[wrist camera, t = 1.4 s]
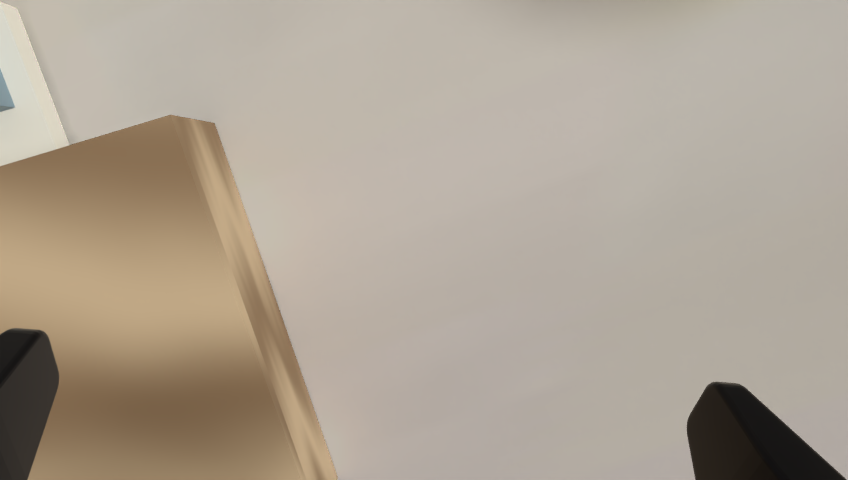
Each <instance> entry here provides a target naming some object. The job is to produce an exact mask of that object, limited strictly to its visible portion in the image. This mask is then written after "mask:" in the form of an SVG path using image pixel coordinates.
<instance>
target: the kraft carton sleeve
mask: <svg viewBox="0 0 848 480" xmlns="http://www.w3.org/2000/svg"><path fill="white" fill-rule="evenodd" d="M12 328H23V329H36V330H42V331H44V332H45V333H46V334H47V335H48V337H49V340H50V343H51V346H52V350H53V353H54V357H55V360H56V363H57V367H58V371H59V385H58V389H57V393H56V396H55V399H54V402H53V405H52V408H51V411H50V414H49V417H48V420H47V423H46V426H45V429H44V432H43V435H42V438H41V441H40V444H39V447H38V450H37V453H36V456H35V459H34V462H33V465H32V468H31V471H30V474H29V477H28V480H337V474H336V471H335V468H334V465H333V463H332V460H331V457H330V454H329V451H328V448H327V445H326V442H325V440H324V437H323V434H322V431H321V428H320V425H319V422H318V419H317V417H316V414H315V411H314V408H313V405H312V402H311V399H310V396H309V394H308V391H307V388H306V385H305V382H304V379H303V376H302V373H301V371H300V368H299V365H298V362H297V359H296V356H295V353H294V350H293V348H292V345H291V342H290V339H289V336H288V333H287V330H286V327H285V325H284V322H283V319H282V316H281V313H280V310H279V307H278V304H277V302H276V299H275V296H274V293H273V290H272V287H271V284H270V281H269V279H268V276H267V273H266V270H265V267H264V264H263V261H262V258H261V256H260V253H259V250H258V247H257V244H256V241H255V238H254V235H253V233H252V230H251V227H250V224H249V221H248V218H247V215H246V212H245V210H244V207H243V204H242V201H241V198H240V195H239V192H238V189H237V187H236V184H235V181H234V178H233V175H232V172H231V169H230V167H229V164H228V161H227V158H226V155H225V152H224V149H223V146H222V144H221V141H220V138H219V135H218V132H217V129H216V126H215V123H211V122H205V121H200V120H195V119H190V118H185V117H179V116H174V115H168V116H165V117H162V118H158V119H155V120H152V121H148V122H145V123H142V124H138V125H135V126H132V127H129V128H125V129H122V130H119V131H115V132H112V133H109V134H105V135H102V136H99V137H95V138H92V139H89V140H85V141H82V142H79V143H76V144H72V145H69V146H66V147H62V148H59V149H56V150H52V151H49V152H46V153H42V154H39V155H36V156H32V157H29V158H26V159H23V160H19V161H16V162H13V163H9V164H6V165H3V166H0V334H1V333H3V332H4V331H6V330H9V329H12Z"/></svg>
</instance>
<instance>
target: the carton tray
mask: <svg viewBox="0 0 848 480" xmlns="http://www.w3.org/2000/svg"><path fill="white" fill-rule="evenodd" d="M66 146H69V142H68V140H67V137H66V135H65V132H64V129H63V127H62V124H61V122H60V119H59V116H58V114H57V111H56V108H55V106H54V103H53V101H52V98H51V95H50V93H49V90H48V88H47V85H46V82H45V80H44V77H43V75H42V72H41V69H40V67H39V64H38V61H37V59H36V56H35V54H34V51H33V48H32V46H31V43H30V41H29V38H28V35H27V33H26V30H25V28H24V25H23V22H22V20H21V17H20V14H19V12H18V9H17V8H15V7H12V6H10V5H7V4H5V3H3V2H0V166H3V165H6V164H9V163H13V162H16V161H19V160H23V159H26V158H29V157H32V156H36V155H39V154H42V153H46V152H49V151H52V150H56V149H59V148H62V147H66Z"/></svg>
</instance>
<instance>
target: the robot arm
mask: <svg viewBox="0 0 848 480" xmlns="http://www.w3.org/2000/svg"><path fill="white" fill-rule="evenodd" d="M58 385H59V371H58V367H57V363H56V360H55V357H54V353H53V350H52V346H51V343H50V340H49V337H48V335H47V334H46V333H45V332H44V331H42V330H36V329H23V328H12V329H9V330H6V331H4V332H3V333H1V334H0V480H28V477H29V474H30V471H31V468H32V465H33V462H34V459H35V456H36V453H37V450H38V447H39V444H40V441H41V438H42V435H43V432H44V429H45V426H46V423H47V420H48V417H49V414H50V411H51V408H52V405H53V402H54V399H55V396H56V393H57V389H58ZM687 436H688V441H689V447H690V452H691V457H692V463H693V468H694V474H695V479H696V480H846V479H845V478H844V477H843V476H842V475H841V474H840V473H839V472H838V471H836V470H835V469H834V468H833V467H832V466H831V465H830V464H829V463H828V462H827V461H825V460H824V459H823V458H822V457H821V456H820V455H819V454H818V453H817V452H816V451H814V450H813V449H812V448H811V447H810V446H809V445H808V444H807V443H806V442H805V441H803V440H802V439H801V438H800V437H799V436H798V435H797V434H796V433H795V432H794V431H792V430H791V429H790V428H789V427H788V426H787V425H786V424H785V423H784V422H783V421H781V420H780V419H779V418H778V417H777V416H776V415H775V414H774V413H773V412H772V411H770V410H769V409H768V408H767V407H766V406H765V405H764V404H763V403H762V402H761V401H759V400H758V399H757V398H756V397H755V396H754V395H753V394H752V393H751V392H750V391H748V390H747V389H746V388H745V387H744V386H742V385H740V384H736V383H726V382H712V383H711V384H709V385H708V386H707V387H706V388H705V390H704V392H703V393H702V395H701V397H700V399H699V400H698V402H697V404H696V405H695V407H694V409H693V410H692V412H691V414H690V416H689V418H688V422H687Z"/></svg>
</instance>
